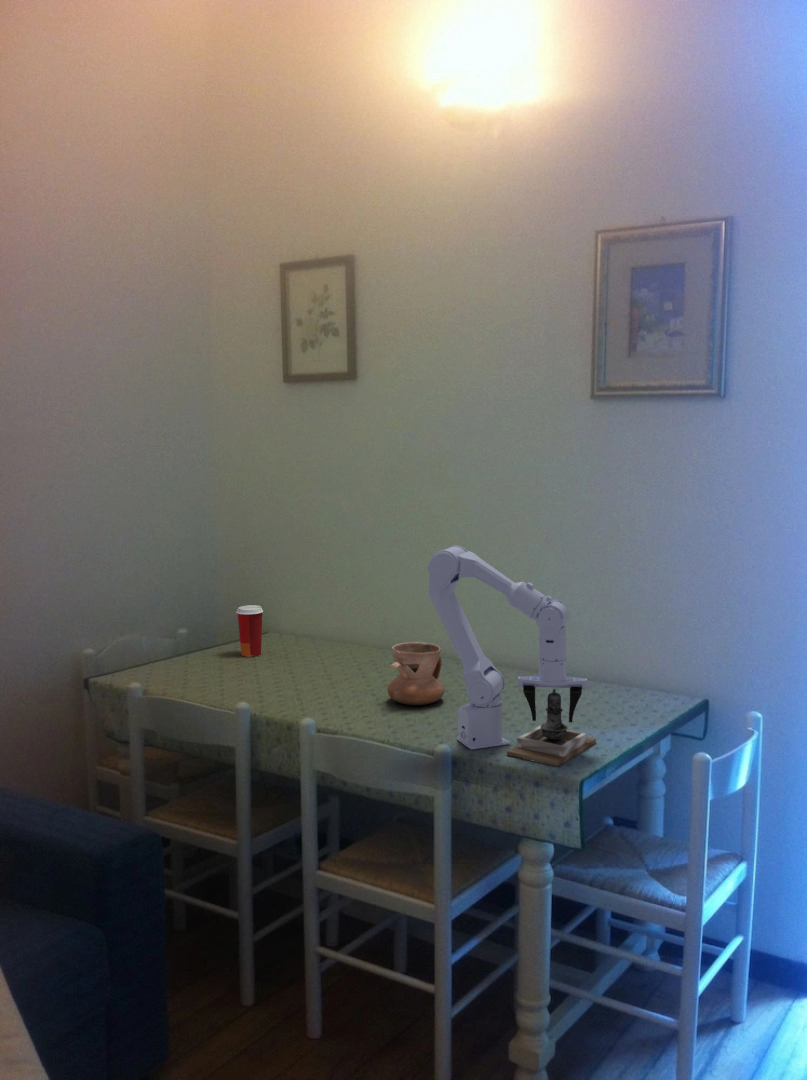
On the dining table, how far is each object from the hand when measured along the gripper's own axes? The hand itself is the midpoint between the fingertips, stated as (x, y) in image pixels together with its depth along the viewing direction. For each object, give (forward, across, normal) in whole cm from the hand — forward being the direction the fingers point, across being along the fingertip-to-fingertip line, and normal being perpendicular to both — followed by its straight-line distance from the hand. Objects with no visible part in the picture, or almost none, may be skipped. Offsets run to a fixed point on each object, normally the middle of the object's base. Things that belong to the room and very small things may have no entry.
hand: (552, 720), depth 207 cm
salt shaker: (+6, 0, -1) cm, 6 cm away
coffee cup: (+7, +93, -77) cm, 121 cm away
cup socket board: (+6, 0, 0) cm, 6 cm away
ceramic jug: (+7, +34, -33) cm, 48 cm away
